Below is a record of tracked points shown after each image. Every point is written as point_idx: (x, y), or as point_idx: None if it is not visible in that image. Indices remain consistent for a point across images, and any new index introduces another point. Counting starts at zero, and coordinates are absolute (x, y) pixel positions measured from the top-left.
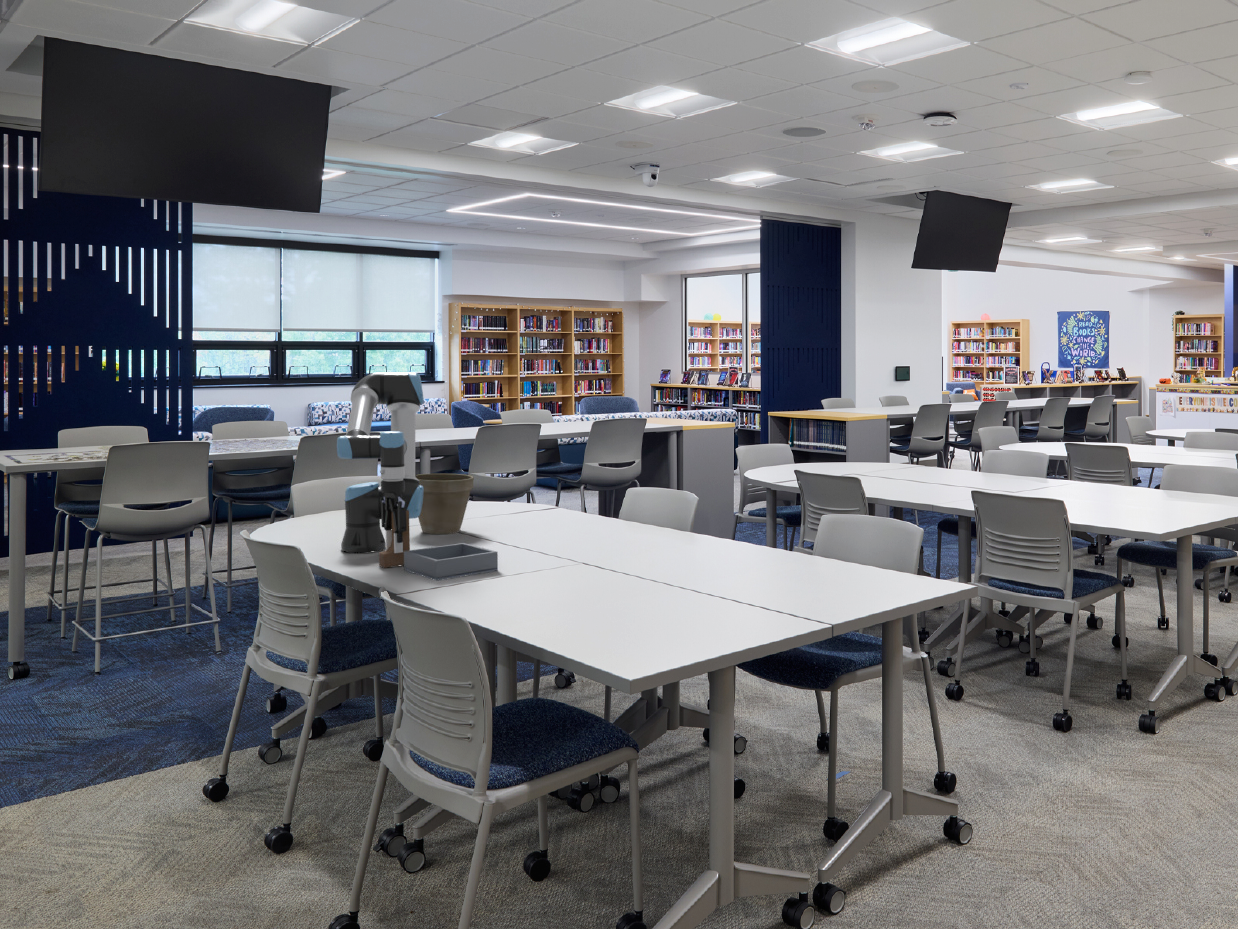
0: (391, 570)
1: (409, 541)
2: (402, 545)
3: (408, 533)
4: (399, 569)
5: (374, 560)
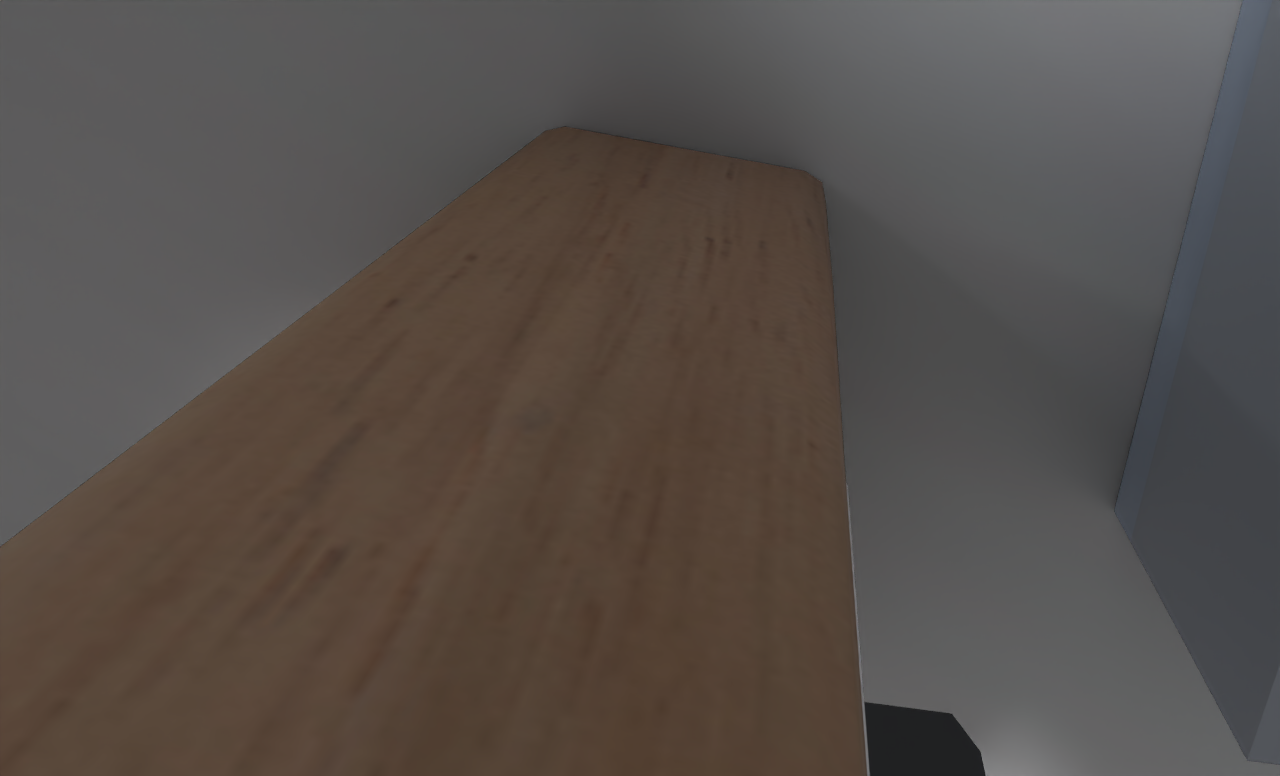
0: (949, 655)
1: (831, 363)
2: None
3: (850, 557)
4: (993, 530)
5: (3, 391)
